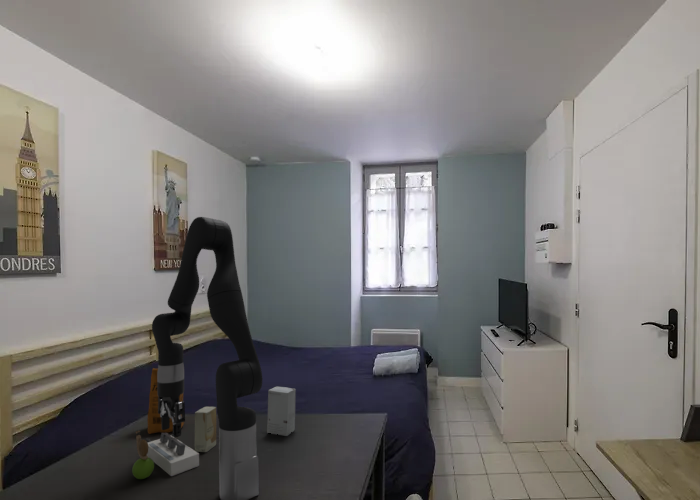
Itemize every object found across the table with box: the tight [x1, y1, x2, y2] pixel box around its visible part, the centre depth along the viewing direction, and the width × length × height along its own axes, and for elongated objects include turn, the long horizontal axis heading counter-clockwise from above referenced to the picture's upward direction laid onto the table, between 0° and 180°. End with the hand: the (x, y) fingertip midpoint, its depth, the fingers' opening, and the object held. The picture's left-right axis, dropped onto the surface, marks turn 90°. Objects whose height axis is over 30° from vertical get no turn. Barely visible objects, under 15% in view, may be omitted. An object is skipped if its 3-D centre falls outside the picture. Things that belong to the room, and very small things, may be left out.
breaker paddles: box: [159, 432, 186, 454], centre depth 122 cm, size 14×2×2 cm, turn 46°
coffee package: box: [147, 367, 185, 435], centre depth 148 cm, size 10×12×22 cm
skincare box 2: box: [266, 386, 297, 437], centre depth 142 cm, size 8×6×15 cm
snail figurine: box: [131, 429, 155, 480], centre depth 112 cm, size 5×6×12 cm
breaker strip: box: [144, 435, 200, 477], centre depth 126 cm, size 31×8×4 cm, turn 46°
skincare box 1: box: [194, 406, 217, 453], centre depth 130 cm, size 6×4×12 cm
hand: (171, 432), depth 122 cm, fingers open, 8 cm apart
